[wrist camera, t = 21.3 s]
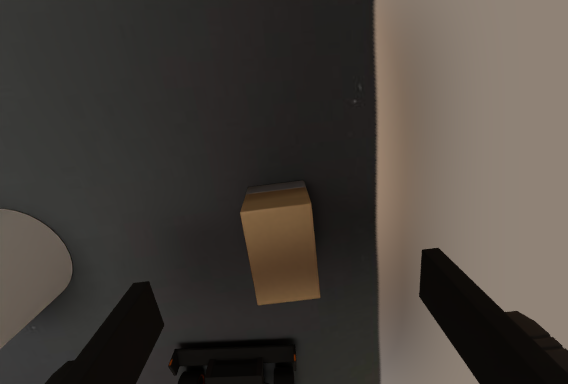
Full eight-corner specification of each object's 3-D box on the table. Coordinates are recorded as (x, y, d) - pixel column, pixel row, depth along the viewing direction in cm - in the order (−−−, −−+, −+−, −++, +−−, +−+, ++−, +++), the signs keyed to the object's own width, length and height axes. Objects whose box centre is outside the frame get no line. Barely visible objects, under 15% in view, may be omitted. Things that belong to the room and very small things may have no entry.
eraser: (247, 186, 19) (239, 212, 15) (303, 179, 19) (311, 203, 15) (261, 264, 22) (257, 305, 17) (311, 258, 21) (320, 298, 17)
